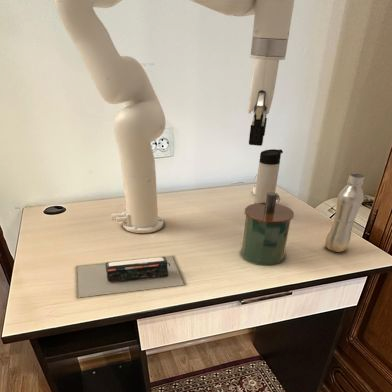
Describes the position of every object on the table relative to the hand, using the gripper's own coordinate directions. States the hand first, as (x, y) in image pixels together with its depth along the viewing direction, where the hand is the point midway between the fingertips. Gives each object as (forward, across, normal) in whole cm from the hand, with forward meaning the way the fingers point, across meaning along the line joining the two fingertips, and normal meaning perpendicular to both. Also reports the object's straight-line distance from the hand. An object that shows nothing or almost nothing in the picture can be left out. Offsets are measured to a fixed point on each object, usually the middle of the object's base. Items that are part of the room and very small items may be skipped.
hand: (256, 140), depth 89 cm
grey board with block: (+27, +26, -26) cm, 46 cm away
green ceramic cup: (+27, +7, +6) cm, 28 cm away
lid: (+15, +7, +6) cm, 17 cm away
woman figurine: (+27, -36, +4) cm, 45 cm away
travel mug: (+27, -21, +4) cm, 34 cm away
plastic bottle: (+26, -1, +26) cm, 37 cm away
